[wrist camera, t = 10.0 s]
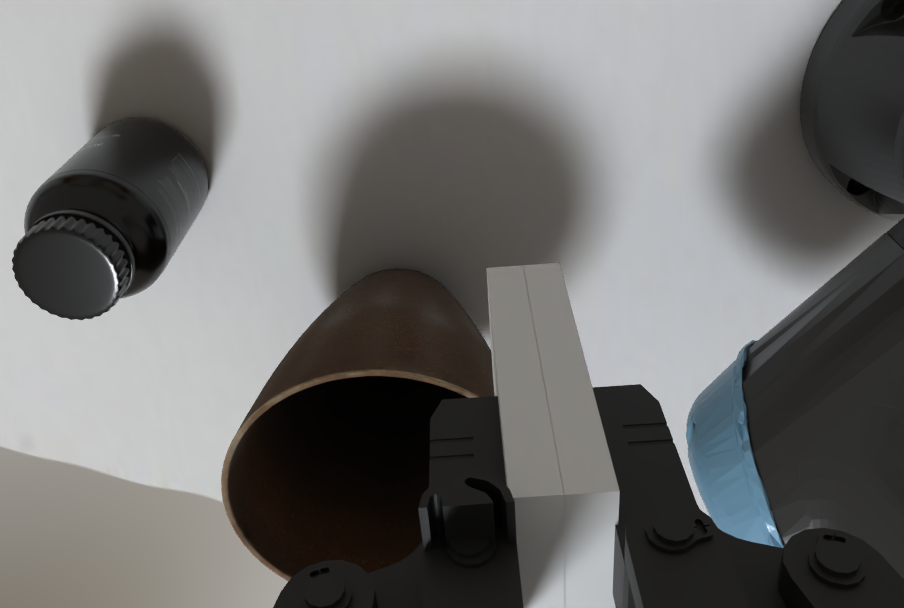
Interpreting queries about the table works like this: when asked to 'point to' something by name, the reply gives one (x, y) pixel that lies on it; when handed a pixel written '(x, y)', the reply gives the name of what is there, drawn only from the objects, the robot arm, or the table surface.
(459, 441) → the robot arm
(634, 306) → the table surface
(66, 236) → the supplement bottle
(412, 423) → the plant pot
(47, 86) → the table surface
